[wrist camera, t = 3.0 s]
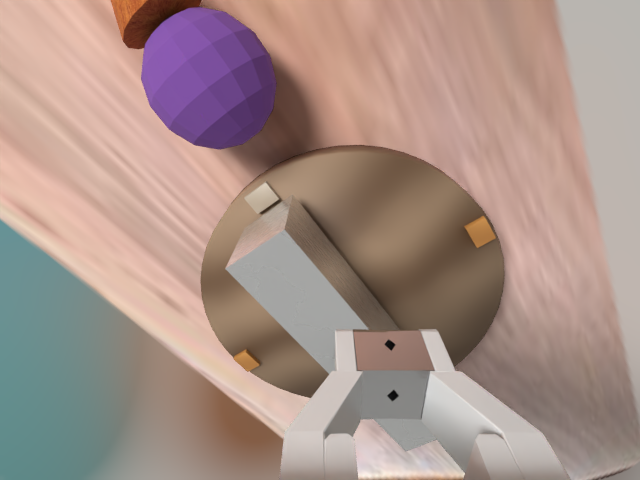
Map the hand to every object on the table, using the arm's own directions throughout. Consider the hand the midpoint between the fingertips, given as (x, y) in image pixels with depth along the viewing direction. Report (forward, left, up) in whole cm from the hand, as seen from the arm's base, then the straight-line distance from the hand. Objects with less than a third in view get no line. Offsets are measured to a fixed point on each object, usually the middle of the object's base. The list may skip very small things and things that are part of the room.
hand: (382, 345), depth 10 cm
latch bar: (+7, +1, -10) cm, 12 cm away
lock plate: (+7, +1, -13) cm, 15 cm away
